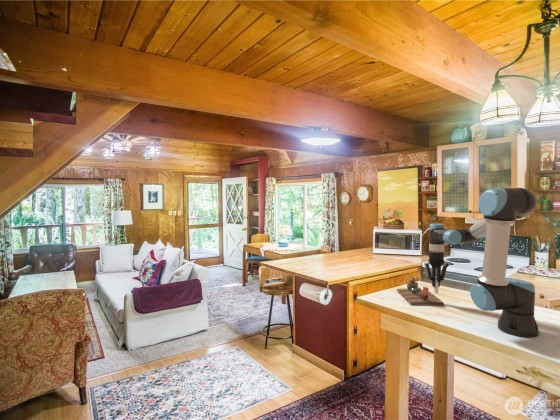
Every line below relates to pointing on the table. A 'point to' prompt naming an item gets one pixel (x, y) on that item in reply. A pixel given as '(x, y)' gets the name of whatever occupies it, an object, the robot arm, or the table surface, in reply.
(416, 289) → the lever
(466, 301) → the table surface
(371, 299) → the table surface
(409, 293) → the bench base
